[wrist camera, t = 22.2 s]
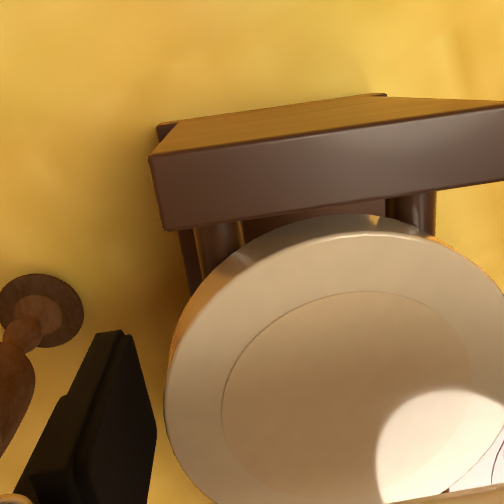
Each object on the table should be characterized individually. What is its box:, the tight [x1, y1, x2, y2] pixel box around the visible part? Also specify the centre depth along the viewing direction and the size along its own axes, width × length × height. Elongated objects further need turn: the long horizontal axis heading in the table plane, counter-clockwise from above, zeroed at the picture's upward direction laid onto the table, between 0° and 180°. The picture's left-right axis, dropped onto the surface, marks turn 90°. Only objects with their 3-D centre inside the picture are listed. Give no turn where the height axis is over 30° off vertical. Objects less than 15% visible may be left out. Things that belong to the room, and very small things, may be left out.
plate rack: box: [148, 93, 504, 494], centre depth 13 cm, size 19×7×8 cm, turn 7°
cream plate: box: [163, 214, 504, 504], centre depth 9 cm, size 7×7×1 cm
